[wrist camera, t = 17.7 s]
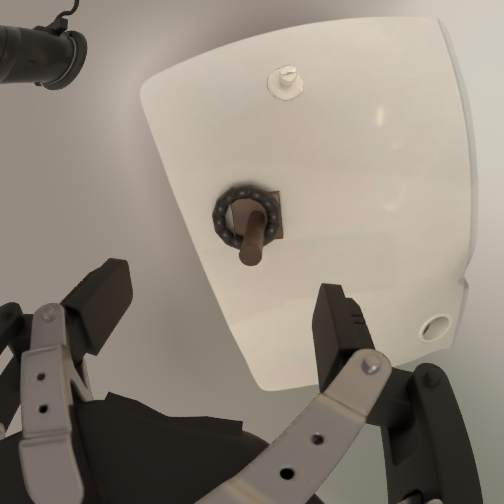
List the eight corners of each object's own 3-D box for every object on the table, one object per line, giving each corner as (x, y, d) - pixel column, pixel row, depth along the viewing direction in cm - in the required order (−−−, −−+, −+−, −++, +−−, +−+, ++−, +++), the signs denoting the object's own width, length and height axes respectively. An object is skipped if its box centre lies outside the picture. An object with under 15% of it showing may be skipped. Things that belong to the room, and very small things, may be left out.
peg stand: (231, 195, 40) (212, 228, 28) (278, 190, 39) (280, 222, 27) (237, 239, 43) (223, 286, 31) (283, 235, 42) (285, 282, 30)
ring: (209, 189, 38) (206, 192, 37) (276, 181, 37) (276, 183, 36) (220, 249, 43) (218, 255, 41) (283, 244, 41) (283, 249, 40)
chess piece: (262, 72, 32) (258, 55, 23) (297, 64, 31) (304, 45, 22) (273, 104, 34) (273, 96, 25) (307, 96, 33) (319, 86, 24)
